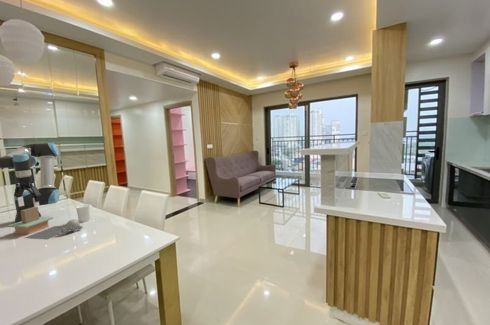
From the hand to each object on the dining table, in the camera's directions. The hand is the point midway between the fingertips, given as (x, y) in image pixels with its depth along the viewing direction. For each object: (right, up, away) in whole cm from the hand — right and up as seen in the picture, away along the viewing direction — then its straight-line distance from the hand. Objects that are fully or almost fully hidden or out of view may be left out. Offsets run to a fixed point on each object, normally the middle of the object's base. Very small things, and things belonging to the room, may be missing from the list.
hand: (29, 206), depth 149 cm
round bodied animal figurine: (+34, -17, -5) cm, 38 cm away
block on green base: (+1, -12, +1) cm, 12 cm away
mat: (+19, -17, -4) cm, 26 cm away
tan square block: (+1, -18, +2) cm, 18 cm away
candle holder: (+27, -15, +17) cm, 35 cm away
